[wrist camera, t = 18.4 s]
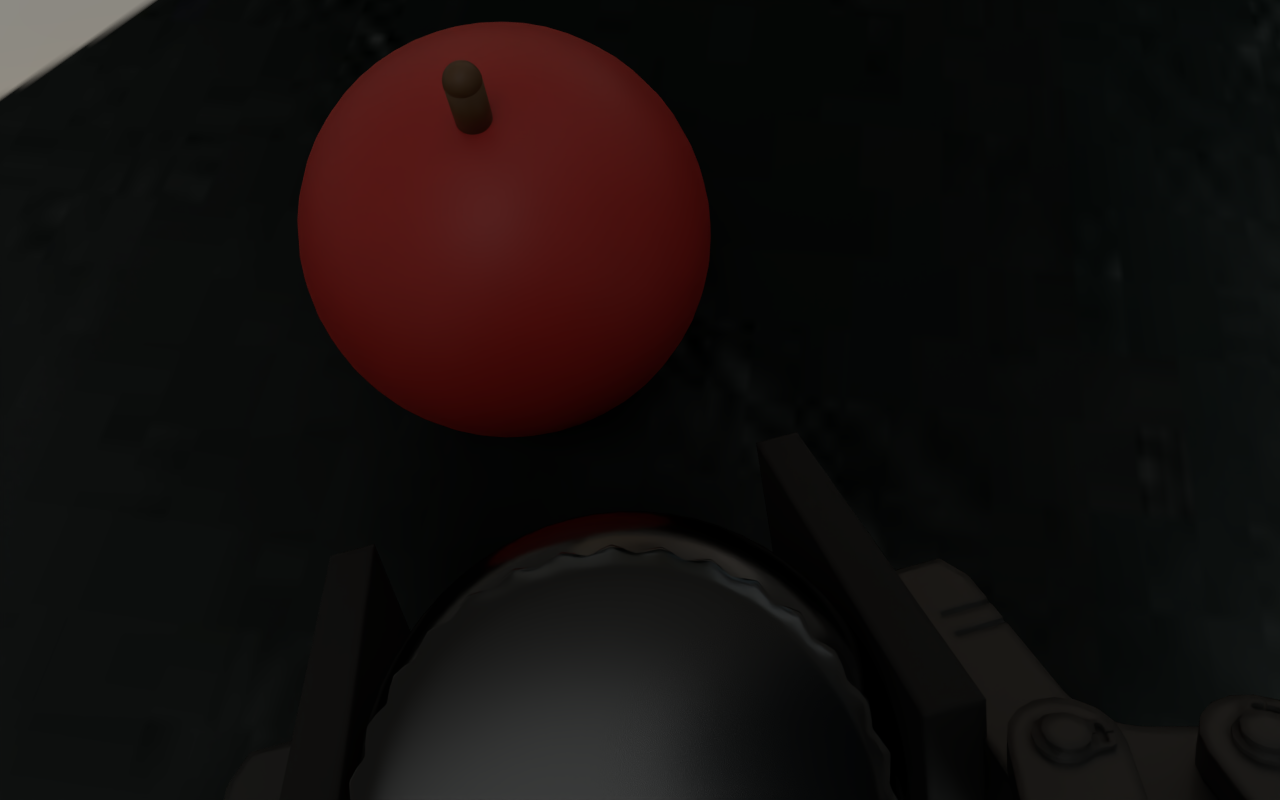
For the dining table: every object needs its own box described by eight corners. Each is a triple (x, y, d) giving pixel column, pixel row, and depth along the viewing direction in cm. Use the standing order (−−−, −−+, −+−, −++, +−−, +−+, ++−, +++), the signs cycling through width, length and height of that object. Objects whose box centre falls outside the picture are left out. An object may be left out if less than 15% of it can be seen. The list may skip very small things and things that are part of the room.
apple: (490, 122, 24) (396, -213, 15) (759, 263, 22) (829, -12, 14) (302, 370, 22) (66, 152, 13) (587, 542, 20) (538, 430, 12)
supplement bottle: (627, 1013, 18) (582, 1613, 6) (411, 734, 19) (54, 794, 8) (872, 758, 19) (1209, 859, 7) (650, 517, 20) (649, 297, 9)
